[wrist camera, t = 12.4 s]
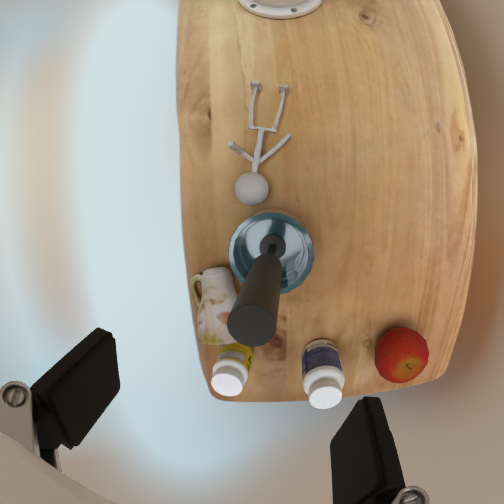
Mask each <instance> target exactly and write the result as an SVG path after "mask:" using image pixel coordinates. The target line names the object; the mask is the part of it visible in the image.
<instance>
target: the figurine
mask: <svg viewBox="0 0 504 504" xmlns="http://www.w3.org/2000/svg"><path fill="white" fill-rule="evenodd" d="M250 84H251V87H252V90H254V91H253V96H252V100H251V107H250V126H249V129H255V130H259V132H258V137H257V143H256V148H255V153H254V158H253V157H252V156H251V155H249V154H248V153H247V152H245V151H244V150H243V149H242V148H241V147H240V146H238V145H237V144H236V143H235V142H233V141H228V147H230V148H231V149H232V150H234V151H235V152H236V153H238V154H239V155H240V154H241V155H243V156H244V157H245V158H247V159H248V160H249V161H251V162H252V163H253V165H252V172H246V173H244V174H242V175H241V176H240V177H239V178H238V179H237V181H236V183H235V188H234V189H235V194H236V197H237V198H238V200H239V201H240V202H242V203H243V204H246V205H250V206H253V205H257V204H260V203H261V202H263V201H264V200H265V198H266V197H267V194H268V190H269V187H268V183H267V181H266V179H265V178H264V177H263V176H262V175H261V174H259V173H257V171H258V166H259V164H261V163H263V162H264V161H265V160H266V159H267V158H269V157H270V156H271V155H272V154H273V153H275V152H276V151H277V150H278V149H279V148H281V147H282V146H283V145H284V144H285V143H286V142H287V141H288V140H289V138H290V137H291V135H290V134H289V133H288V134H287V135H286V136H285V137H284V138H283V139H282V140H281V141H280V142H279V143H278V144H277V145H276V146H274V147H273V148H272V149H271V150H269V151H268V152H267V153H266V154H265V155H263V156H262V157H261V158H260V155H261V149H262V142H263V136H264V131H270V132H276V131H277V129H275V128H276V126H277V124H278V121H279V118H280V114H281V111H282V107H283V101H284V96H285V94H288V93H289V85H282V84H279V93H282V95H281V101H280V106H279V110H278V113H277V117H276V120H275V123H274V125H273V127H272V129H271V128H264V127H257V126H253V110H254V102H255V97H256V93H257V90H260V91H261V89H262V88H261V84H260V82H256V81H251V82H250Z"/></svg>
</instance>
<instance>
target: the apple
mask: <svg viewBox="0 0 504 504" xmlns="http://www.w3.org/2000/svg"><path fill="white" fill-rule="evenodd" d="M428 357H429V351H428V347H427V343H426V340H425V339H424V338H423V337H422V336H421V335H420V334H419V333H418V332H416V331H413V330H411V329H408V328H404V327H398V328H394V329H392V330H390V331H388V332H387V333H385V334H384V335H383V336H382V337H381V339H380V340H379V342H378V344H377V346H376V348H375V366H376V368H377V370H378V372H379V374H380V375H381V376H382V377H383V378H384V379H386V380H388V381H390V382H392V383H404V382H408V381H410V380H412V379H414V378H415V377H417V376H418V375H419V374H420V373H421V372H422V371H423V369H424V368H425V366H426V365H427V363H428Z"/></svg>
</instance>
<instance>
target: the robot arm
mask: <svg viewBox="0 0 504 504" xmlns="http://www.w3.org/2000/svg"><path fill="white" fill-rule="evenodd" d="M322 1H323V0H238V2H239V3H240V4H241V6H243V7H244V8H245V9H246V10H248V11H250V12H251V13H254V14H256V15H259V16H263V17H267V18H275V19H287V18H295V17H299V16H303V15H306V14H308V13H310V12H312V11H314V10H315V9H316V8H317V7H319V6H320V4H321V3H322ZM119 389H120V380H119V372H118V363H117V354H116V343H115V339H114V338H113V336H112V333H110V332H108V331H105V330H103V329H101V328H96V329H95V330H94V331H93V332H91V333H90V334H89V335H88V336H87V337H86V338H84V339H83V340H82V341H81V342H80V343H79V344H77V345H76V346H75V347H74V348H73V349H72V350H71V351H70V352H69V353H67V354H66V355H65V356H64V357H63V358H62V359H61V360H59V361H58V362H57V363H56V364H55V365H54V366H53V367H52V368H51V369H49V371H47V372H46V373H45V374H44V375H43V376H42V377H41V378H40V379H39V380H37V382H36V383H34V384H33V385H32V387H31V388H29V387H28V386H27V385H26V384H24V383H22V382H19V381H11V382H8V383H6V384H5V385H4V386H3V387H2V388H1V389H0V504H116V503H114V502H112V501H110V500H108V499H106V498H104V497H102V496H100V495H98V494H96V493H94V492H93V491H91V490H89V489H87V488H86V487H84V486H82V485H80V484H79V483H77V482H76V481H74V480H72V479H71V478H69V477H67V476H66V475H65V474H63V473H62V471H61V466H60V461H59V455H58V447H59V446H60V444H63V445H64V446H66V447H67V448H69V449H70V450H71V449H72V448H73V447H74V446H78V445H79V444H80V443H81V442H82V440H83V439H84V437H85V436H86V435H87V433H88V432H89V431H90V429H91V428H92V427H93V425H94V424H95V423H96V421H97V420H98V418H99V417H100V416H101V415H102V413H103V412H104V411H105V409H106V407H108V405H109V404H110V402H111V401H112V400H113V398H114V397H115V396H116V395H117V393H118V392H119ZM330 453H331V469H332V490H333V504H429V497H428V494H427V493H426V492H425V491H424V490H423V489H422V488H420V487H417V486H408V487H405V482H404V478H403V474H402V470H401V466H400V462H399V458H398V454H397V450H396V447H395V443H394V439H393V436H392V433H391V431H390V430H389V426H388V423H387V419H386V416H385V413H384V409H383V406H382V403H381V400H380V398H378V397H363V399H362V400H359V401H357V403H356V405H355V406H354V408H353V409H352V411H351V412H350V414H349V415H348V417H347V419H346V420H345V421H344V423H343V424H342V426H341V427H340V429H339V430H338V432H337V433H336V435H335V436H334V437H333V439H332V441H331V444H330Z"/></svg>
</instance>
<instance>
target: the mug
mask: <svg viewBox="0 0 504 504" xmlns="http://www.w3.org/2000/svg"><path fill="white" fill-rule="evenodd" d="M196 281H200V282H201V284H202V298H201V300H200V298H199V295H198V293H197V289H196V285H195V283H196ZM190 288H191V291H192V295H193V297H194V300H195V302H196V306H197V308H198V315H197V320H196V332H197V336H198V339H199V341H200V342H201V343H204V344H209V345H223V344H232V343H236V342H237V341H236V340H234V339H233V338H232V336H231V335H230V333H229V331H228V328H227V319H228V316H229V314H230V312H231V309H232V307H233V305H234V303H235V301H236V299H237V296H238V295H237V293H236V290H235V287H234V282H233V276H232V272H231V271H229V270H228V269H227V268H225V267H213V268H208V269H206V270H205V271H204V272H203V274H202V275H201V274H195V275H194V276H193V277H192V279H191V281H190Z"/></svg>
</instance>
